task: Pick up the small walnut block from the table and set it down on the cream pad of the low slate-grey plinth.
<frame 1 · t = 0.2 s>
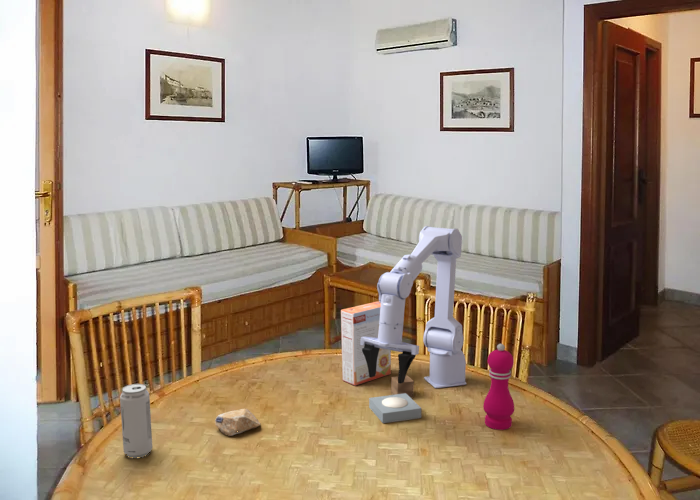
hand: (386, 379, 161), 11 cm above the table, tool pointing down, fingers open, 7 cm apart
walnut block: (402, 395, 179), on the table
cracker box: (366, 378, 192), on the table
plinth: (394, 412, 168), on the table
pepper mill: (498, 425, 161), on the table
energy drink can: (138, 454, 147), on the table
stone: (240, 429, 160), on the table
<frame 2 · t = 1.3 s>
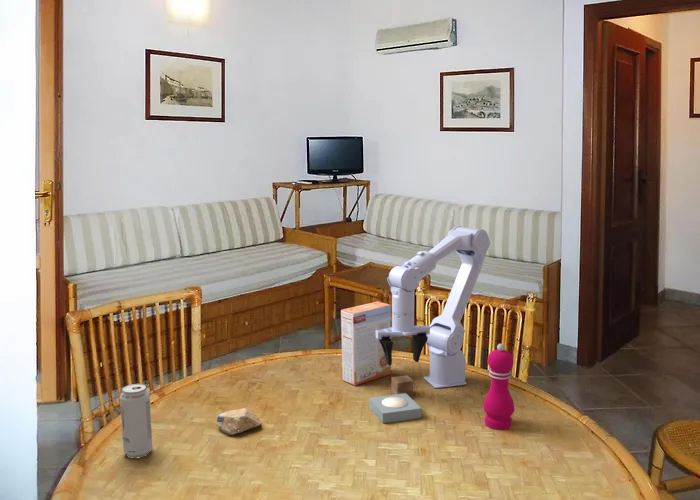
hand: (402, 362, 177), 9 cm above the table, tool pointing down, fingers open, 7 cm apart
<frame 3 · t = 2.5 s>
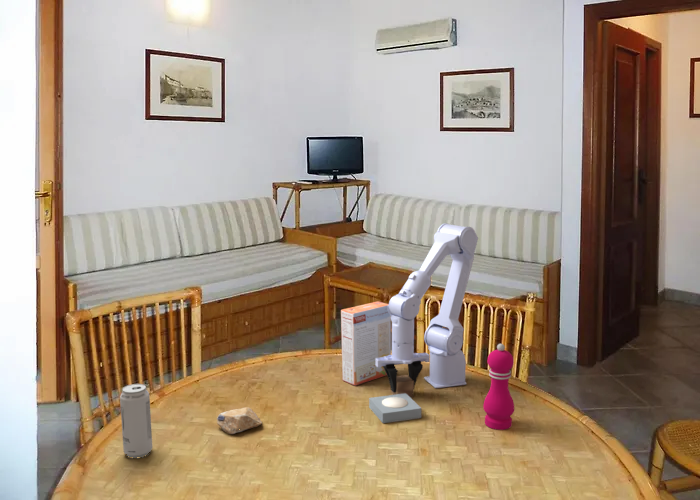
hand: (402, 389, 179), 1 cm above the table, tool pointing down, fingers closed on walnut block, 4 cm apart
walnut block: (402, 394, 179), on the table, touching gripper
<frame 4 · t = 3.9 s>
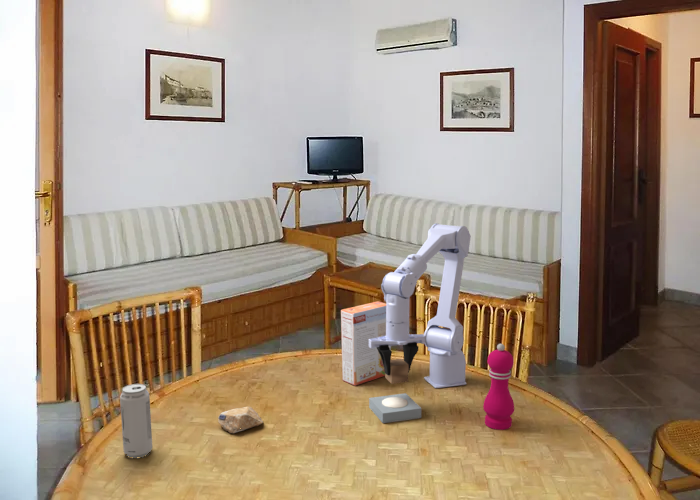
hand: (396, 372, 170), 9 cm above the table, tool pointing down, fingers closed on walnut block, 4 cm apart
walnut block: (396, 379, 170), point 7 cm above the table, touching gripper
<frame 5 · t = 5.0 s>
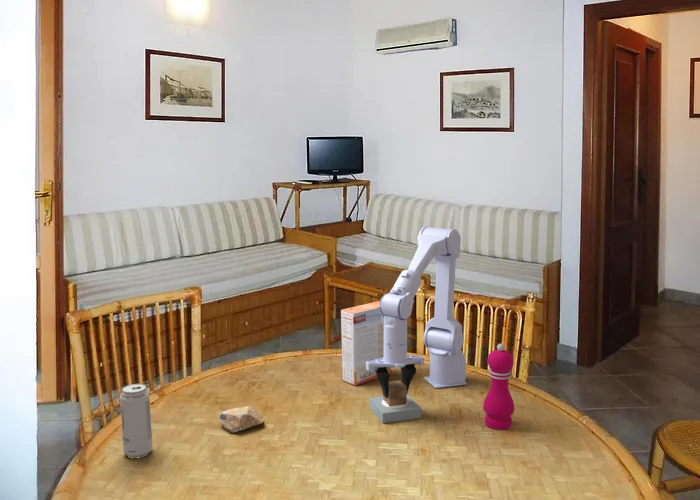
hand: (394, 394, 167), 5 cm above the table, tool pointing down, fingers closed on walnut block, 4 cm apart
walnut block: (394, 401, 168), point 3 cm above the table, touching gripper
when the fingers open (5 cm above the table, at t = 5.4 s): walnut block stays where it is, resting on plinth.
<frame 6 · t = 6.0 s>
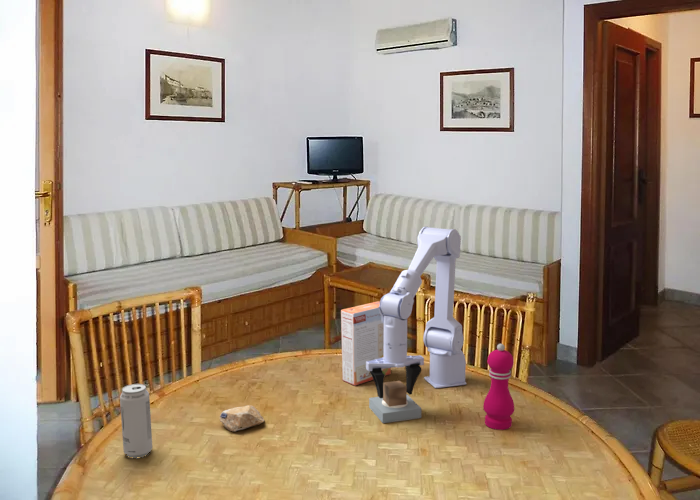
hand: (394, 394, 167), 5 cm above the table, tool pointing down, fingers open, 7 cm apart
walnut block: (394, 402, 168), point 3 cm above the table, touching plinth
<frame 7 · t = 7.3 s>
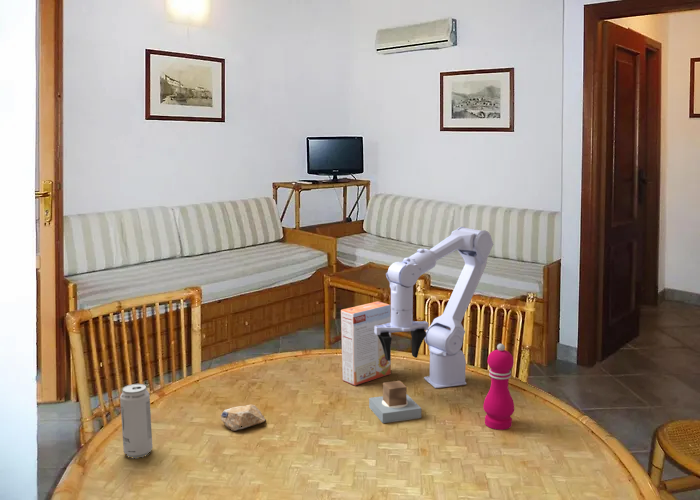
hand: (401, 358, 178), 10 cm above the table, tool pointing down, fingers open, 7 cm apart
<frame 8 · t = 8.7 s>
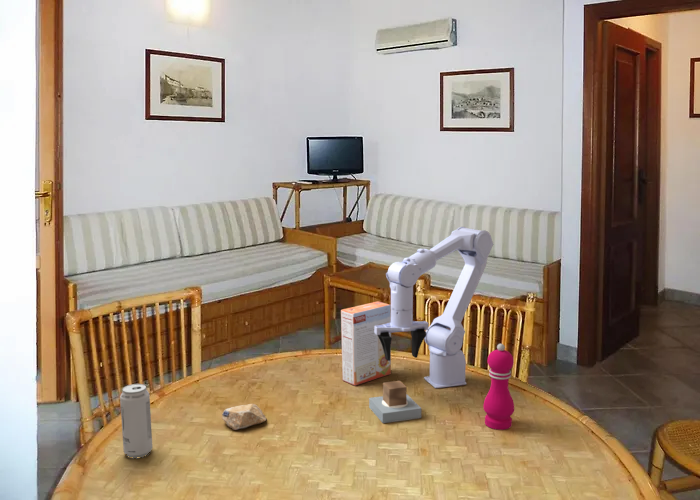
hand: (401, 358, 178), 10 cm above the table, tool pointing down, fingers open, 7 cm apart
at the end: walnut block inside the target area on the plinth (0.2 cm from its centre), point 2.7 cm above the plinth's base; walnut block tilted 0°; the gripper is holding nothing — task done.
